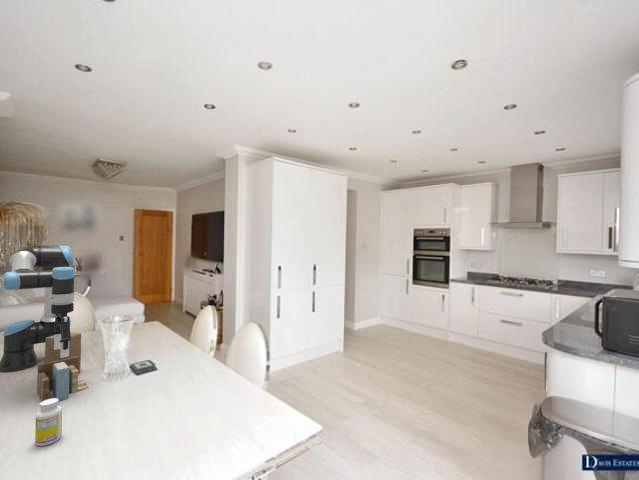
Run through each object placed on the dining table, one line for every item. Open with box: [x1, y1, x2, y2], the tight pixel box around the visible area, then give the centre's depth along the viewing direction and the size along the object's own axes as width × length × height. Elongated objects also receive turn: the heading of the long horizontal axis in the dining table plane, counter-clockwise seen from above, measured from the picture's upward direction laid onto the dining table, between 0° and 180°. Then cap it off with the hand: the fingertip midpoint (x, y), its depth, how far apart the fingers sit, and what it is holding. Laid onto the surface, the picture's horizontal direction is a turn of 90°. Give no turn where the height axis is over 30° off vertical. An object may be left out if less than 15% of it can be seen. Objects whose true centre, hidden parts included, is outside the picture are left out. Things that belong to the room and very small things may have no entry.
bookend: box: [68, 365, 90, 394], centre depth 142 cm, size 10×6×9 cm, turn 49°
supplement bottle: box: [34, 397, 63, 447], centre depth 104 cm, size 7×7×13 cm
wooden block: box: [44, 332, 82, 375], centre depth 154 cm, size 10×10×20 cm
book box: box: [51, 362, 70, 402], centre depth 134 cm, size 10×4×13 cm, turn 49°
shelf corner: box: [36, 356, 78, 402], centre depth 137 cm, size 15×14×12 cm
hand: (61, 352), depth 134 cm, fingers open, 13 cm apart
